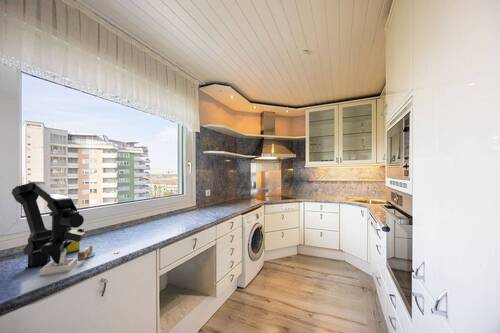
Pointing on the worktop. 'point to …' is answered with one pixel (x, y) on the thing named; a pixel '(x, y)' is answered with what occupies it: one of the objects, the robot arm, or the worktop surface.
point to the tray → (58, 267)
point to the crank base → (94, 254)
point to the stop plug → (62, 258)
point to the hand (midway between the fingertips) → (59, 261)
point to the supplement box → (73, 247)
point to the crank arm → (84, 253)
